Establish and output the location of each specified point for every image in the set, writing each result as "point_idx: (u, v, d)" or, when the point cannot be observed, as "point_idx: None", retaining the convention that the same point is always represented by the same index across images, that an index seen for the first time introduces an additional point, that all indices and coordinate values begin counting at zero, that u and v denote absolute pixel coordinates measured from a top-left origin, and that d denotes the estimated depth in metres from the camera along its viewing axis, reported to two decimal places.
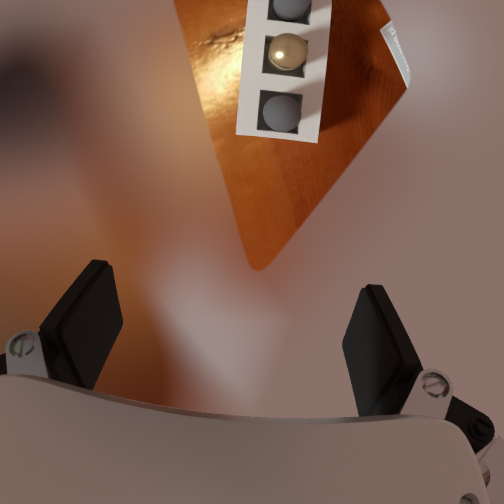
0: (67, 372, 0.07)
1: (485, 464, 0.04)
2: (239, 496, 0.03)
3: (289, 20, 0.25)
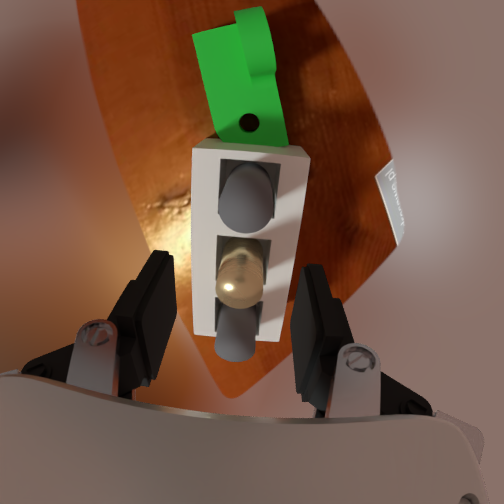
0: (139, 360, 0.08)
1: None
2: (239, 496, 0.03)
3: None
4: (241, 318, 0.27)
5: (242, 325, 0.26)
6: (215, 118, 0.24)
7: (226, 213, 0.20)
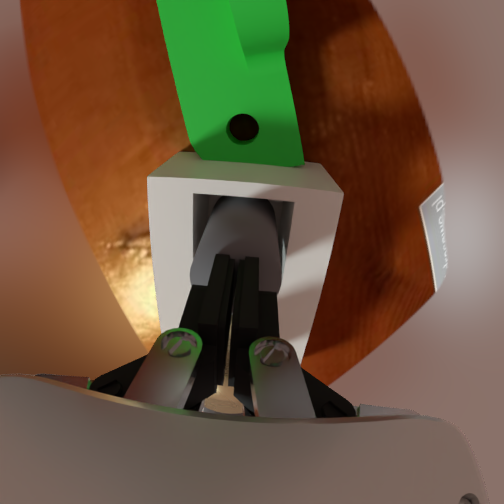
0: (215, 367, 0.08)
1: None
2: (239, 496, 0.03)
3: None
4: None
5: None
6: (189, 122, 0.15)
7: None
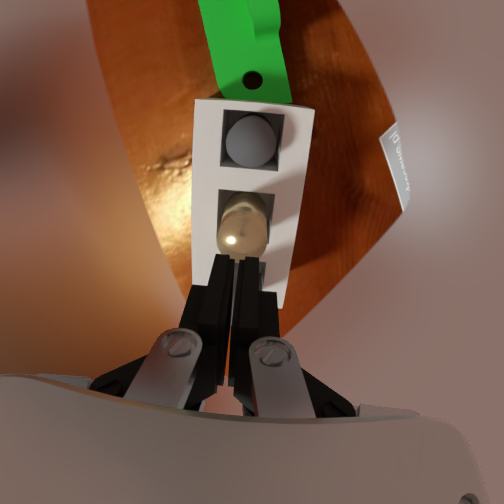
0: (215, 367, 0.08)
1: None
2: (239, 496, 0.03)
3: None
4: None
5: None
6: (218, 75, 0.23)
7: (233, 148, 0.21)
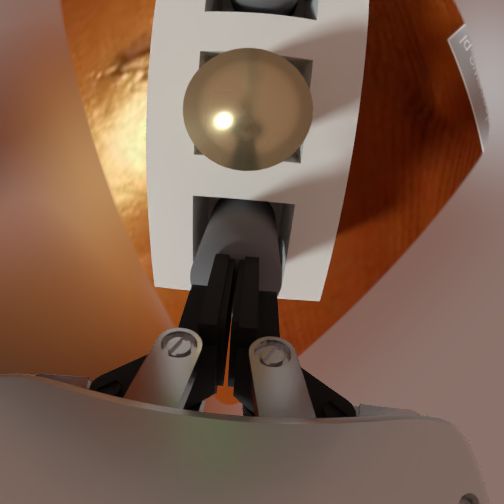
0: (215, 367, 0.08)
1: None
2: (239, 496, 0.03)
3: None
4: (250, 219, 0.13)
5: (253, 228, 0.12)
6: None
7: None
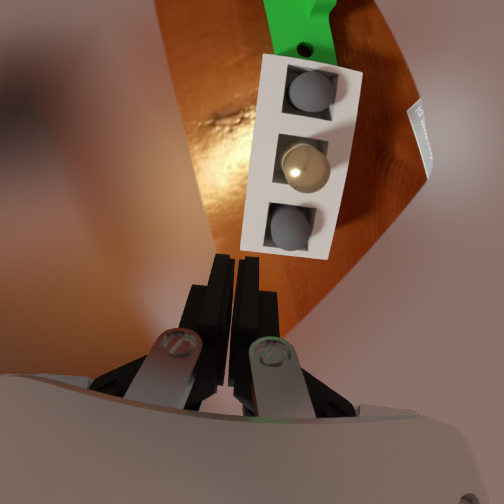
0: (215, 367, 0.08)
1: None
2: (239, 496, 0.03)
3: None
4: (295, 208, 0.29)
5: (297, 211, 0.28)
6: (276, 42, 0.24)
7: (298, 94, 0.22)
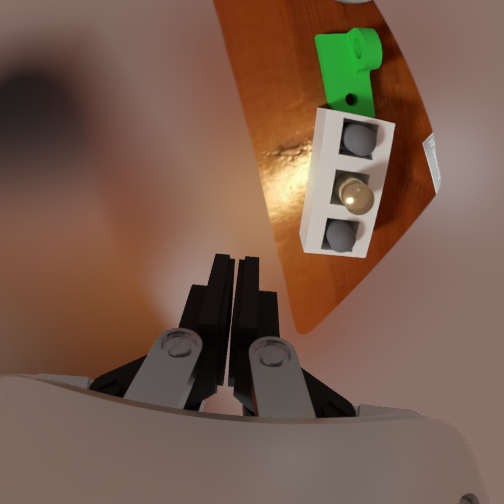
0: (215, 367, 0.08)
1: None
2: (239, 496, 0.03)
3: None
4: (344, 221, 0.39)
5: (346, 224, 0.38)
6: (330, 93, 0.34)
7: (352, 143, 0.32)
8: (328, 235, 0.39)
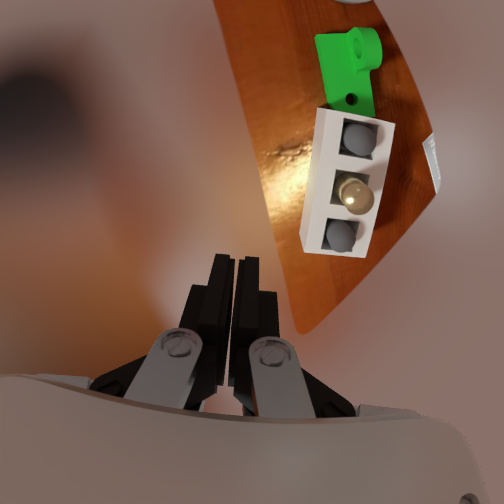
0: (215, 367, 0.08)
1: None
2: (239, 496, 0.03)
3: None
4: (344, 221, 0.39)
5: (346, 224, 0.38)
6: (330, 93, 0.34)
7: (352, 143, 0.32)
8: (328, 235, 0.39)
